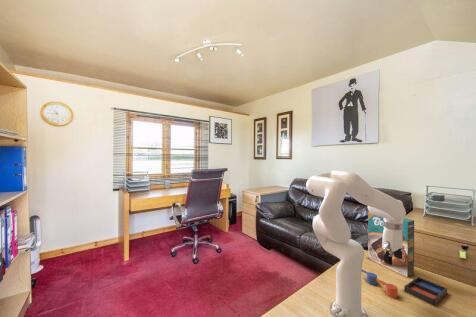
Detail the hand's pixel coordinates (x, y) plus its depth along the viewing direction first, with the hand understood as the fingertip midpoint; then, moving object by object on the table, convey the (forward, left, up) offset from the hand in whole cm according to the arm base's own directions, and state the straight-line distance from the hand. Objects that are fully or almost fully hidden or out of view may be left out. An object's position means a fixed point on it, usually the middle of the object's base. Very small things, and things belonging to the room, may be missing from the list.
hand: (393, 260), depth 100 cm
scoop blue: (0, +12, -16) cm, 20 cm away
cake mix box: (+25, +13, -16) cm, 32 cm away
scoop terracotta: (-2, +2, -16) cm, 16 cm away
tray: (+13, -8, -16) cm, 22 cm away
